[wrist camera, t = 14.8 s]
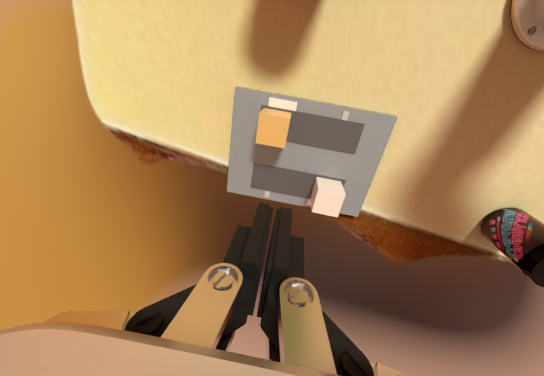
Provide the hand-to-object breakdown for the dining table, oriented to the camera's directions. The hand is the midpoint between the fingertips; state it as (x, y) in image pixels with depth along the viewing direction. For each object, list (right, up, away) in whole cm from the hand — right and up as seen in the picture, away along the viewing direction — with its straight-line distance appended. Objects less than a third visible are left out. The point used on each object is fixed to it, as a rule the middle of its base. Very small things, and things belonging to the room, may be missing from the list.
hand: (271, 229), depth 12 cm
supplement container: (+39, -4, +28) cm, 48 cm away
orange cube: (+1, +12, +23) cm, 26 cm away
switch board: (+5, +7, +26) cm, 28 cm away
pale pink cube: (+9, +2, +27) cm, 28 cm away
